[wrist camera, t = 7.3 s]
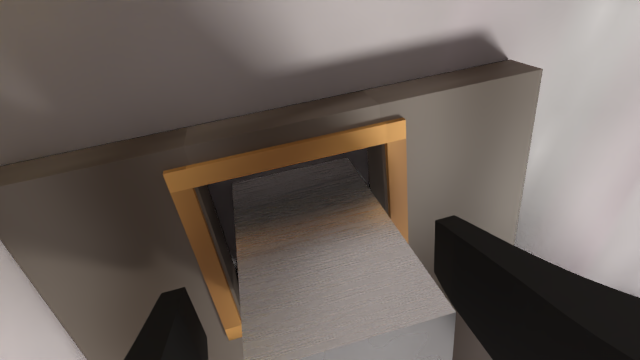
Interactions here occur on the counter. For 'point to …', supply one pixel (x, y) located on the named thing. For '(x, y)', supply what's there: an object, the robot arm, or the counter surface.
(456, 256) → the robot arm
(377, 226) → the steel peg
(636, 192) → the counter surface
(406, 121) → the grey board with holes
